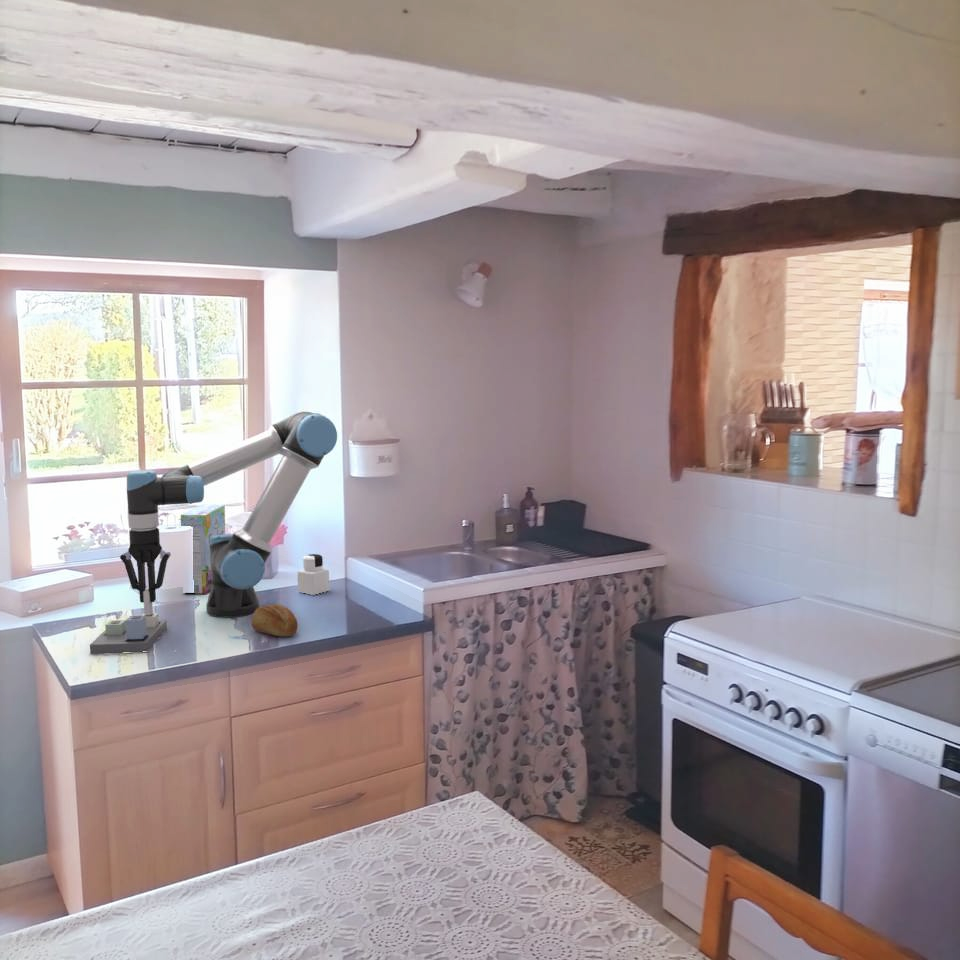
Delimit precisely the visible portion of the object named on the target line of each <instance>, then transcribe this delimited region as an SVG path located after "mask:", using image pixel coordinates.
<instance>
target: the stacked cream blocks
mask: <svg viewBox="0 0 960 960" xmlns="http://www.w3.org/2000/svg"><path fill="white" fill-rule="evenodd" d="M323 559H324V558H323V556H322V555H321V554H318V553H317V554H316V553H313V554H306V555H304V556H303V558H302V561H303V562H302V563H303V569H300V570H298V571H297V590H298V591H299V592H304V593H308V594H312V595H311V596H313V595H314V596H316V595H315V594H318V595H320V594H319V593H321V594H323V593H322V592H324V593H327V592H326V591H328V592H330V571H329V569H327V568H323V567H324V565H323V563H324V562H323ZM298 591H297V592H298ZM299 592H298V593H299ZM308 594H307V595H308Z"/></svg>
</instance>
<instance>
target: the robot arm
mask: <svg viewBox="0 0 960 960" xmlns="http://www.w3.org/2000/svg"><path fill="white" fill-rule="evenodd" d="M337 441H338V432H337V428H336V426H335V423H333V421H332V420H330V418H328V417H326V416H325V415H323V414H320V413H317V412H315V413H314V412H310V411H301V412H297V413H294V414H292V415H291V416H288V417H286V418H284V419H283V420H280V421H278V422H276V423H274V424H271V425H270V426H269V428H268V429H267V430H266V431H263V432H261V433H259V434H256V435H255V436H252V437H250V438H249V437H248V438H247V439H245V440H243V441H239V442H238V443H236V444H233V445H231V446H228V447H226V448H224V449H221V450H219V451H216V452H214V453H212V454H210V455H208V456H204V457H202V458H200V459H197V460H195V461H193V462H190V463H188V464H186V465H184V466H181V467H179V468H172V469H168V470H167V471H165V472H164V473H163V474H162V476H161V477H159V476H158V475H157V472H156V471H155V470H151V469H140V470H132V471H129V472H128V474H127V475H126V499H127V511H128V512H127V513H128V517H127V518H128V528H129V529H130V530H129V532H128V535H129V547H128V549H127V551H126V552H125V553H122V554H121V555H120V556H119V559H120V560H121V562H123V564H124V567H125V571H126V572H127V576H128V579H129V583H130V587H131V588H132V589H133V590H137V591H138V593H139V601H140V603H142V604H143V611H144V612H143V613H144V615H151V614H152V613H154V611H153V610H154V609H153V608H154V607H153V603H155V602H156V599H157V597H156V594H157V593H156V590H157V589H160V588H161V587H162V586H163V583H164V579H165V573H166V568H167V562H168V560H169V558H170V557H171V555H172V554H171V552H168V551H167V552H166V551H165V550H163V547H162V545H161V543H160V528H158V527H159V524H160V523H159V520H160V519H159V506H167V505H170V506H171V505H183V504H185V505H188V504H189V505H193V504H196V503H197V504H198V503H201V502H203V501H204V498H205V487H206V486H208V485H209V484H212V483H214V482H216V481H220V480H222V479H224V478H226V477H230V475H233V474H236V473H238V472H240V471H243V470H246V469H247V468H249V467H252V466H254V465H256V464H259V463H261V462H263V461H266V460H268V459H270V458H273V457H275V456H277V455H281V456H282V457H281V459H280V461H279V462H278V464H277V466H276V468H275V470H274V472H273V474H272V475H271V477H270V479H269V481H268V482H267V484H266V486H265V488H264V490H263V491H262V493H261V495H260V496H259V499H258V500H257V502H256V504H255V505H254V508H253V509H252V511H251V513H250V515H249V516H248V519H247V520H246V521H245V524H244V525H243V527H242V529H240V530H237V531H234V532H233V533H225V534H222V535H215V536H212V537H211V538H210V545H209V548H210V561H211V583H212V586H211V590H210V591H209V593H208V598H207V601H206V602H207V603H206V604H205V605H206V606H205V607H206V608H205V609H206V611H205V612H206V614H207V615H209V616H211V617H216V618H217V617H218V618H232V617H233V618H234V617H242V616H247V614H248V615H250V613H251V614H254V613H253V612H255V610H256V609H257V608H259V607H260V601H259V598H258V595H257V593H256V590H255V586H256V585H258V584H259V583H260V581H262V579H263V577H264V574H265V570H266V562H267V560H268V559H269V557H270V555H271V553H272V548H271V542H272V540H273V539H274V537H275V534H277V531H278V529H279V528H280V526H281V524H282V522H283V520H284V519H285V517H286V515H287V513H288V512H289V509H290V508H291V506H292V504H293V502H294V500H295V498H296V497H297V495H298V493H299V491H300V490H301V487H302V485H303V484H304V482H305V481H306V479H307V477H308V475H309V473H310V472H311V470H312V469H316V468H319V467H320V464H321V463H322V460H323V459H324V457H325V456H326V455H328V454H330V453H331V452H333V450H334V448H335V447H336V444H337ZM158 556H159V558H160V563H159V565H158V572H157V577H156V572H155V571H156V569H155V562H156V560H157V558H158ZM132 558H133V559H134V560H135V561H136V566H137V574H136V571H135V568H134V565H133V561H132ZM146 567H147V579H148V580H147V582H146ZM146 583H148V586H147V584H146ZM147 587H148V588H147Z"/></svg>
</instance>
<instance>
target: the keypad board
mask: <svg viewBox="0 0 960 960" xmlns="http://www.w3.org/2000/svg"><path fill="white" fill-rule="evenodd" d="M167 623H168V622H167V619H165V620H163V619H161V620H160V619H159V625H158V626H157V627H151V628H147V635H146V636H145V637H144V638H143V639H127V638H126V632H125V633H124V635H106V629H105V630H103V632H102V633H100V634H99V635H98V637H96V638H95V639H94V640H93V641H92V642H91V643H90V644H89V652H90V654H89V655H105V653H113V654H124V653H123V652H143V651H148V650H149V649H150V650H151V648H152V647H153V646H154V645H155V644H156V643H157V641H158V640H159V639H160V638H161V637H162V635H163V634H164V633H165V632H166V631H167V630H168V626H167ZM165 630H166V631H165ZM164 631H165V632H164ZM163 632H164V633H163ZM162 633H163V634H162ZM160 636H161V637H160ZM159 637H160V638H159ZM158 638H159V639H158ZM155 642H156V643H155ZM154 643H155V644H154ZM153 644H154V645H153ZM152 645H153V646H152ZM150 650H149V651H150ZM149 651H148V652H149Z"/></svg>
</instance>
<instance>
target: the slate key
mask: <svg viewBox="0 0 960 960" xmlns="http://www.w3.org/2000/svg"><path fill="white" fill-rule="evenodd" d="M124 620H125V621H126V638H127V639H143V638H144V637H145V636H146V635H147V627H146V616H141V615H130V616H129V615H128V617H127V619H124Z"/></svg>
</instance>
